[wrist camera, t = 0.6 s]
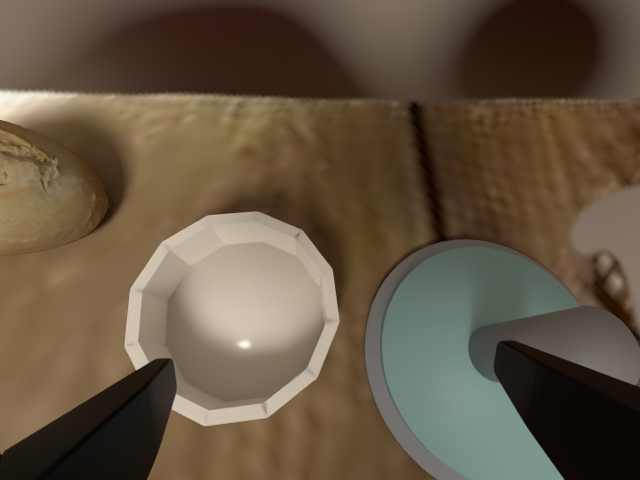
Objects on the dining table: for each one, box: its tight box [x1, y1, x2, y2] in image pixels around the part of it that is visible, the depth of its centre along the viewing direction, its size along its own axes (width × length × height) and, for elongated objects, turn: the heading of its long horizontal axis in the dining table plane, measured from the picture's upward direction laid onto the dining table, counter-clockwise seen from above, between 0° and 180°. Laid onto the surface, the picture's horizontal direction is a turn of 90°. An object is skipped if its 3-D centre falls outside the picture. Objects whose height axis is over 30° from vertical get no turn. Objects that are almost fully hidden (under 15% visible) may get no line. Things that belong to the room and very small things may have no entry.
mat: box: [364, 239, 581, 480], centre depth 22 cm, size 17×17×1 cm
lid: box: [380, 247, 640, 480], centre depth 18 cm, size 15×15×9 cm
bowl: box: [125, 211, 339, 426], centre depth 21 cm, size 12×12×4 cm
